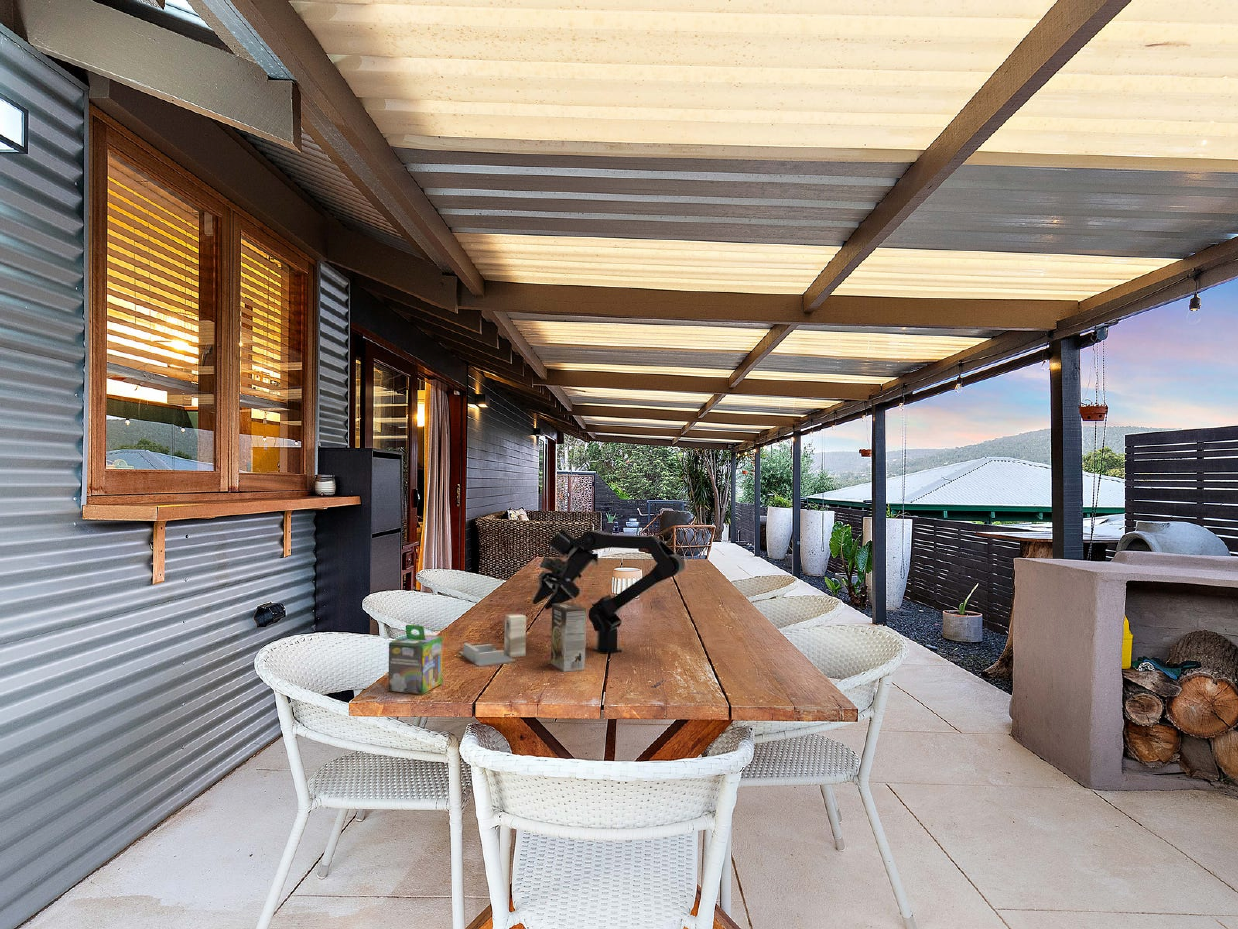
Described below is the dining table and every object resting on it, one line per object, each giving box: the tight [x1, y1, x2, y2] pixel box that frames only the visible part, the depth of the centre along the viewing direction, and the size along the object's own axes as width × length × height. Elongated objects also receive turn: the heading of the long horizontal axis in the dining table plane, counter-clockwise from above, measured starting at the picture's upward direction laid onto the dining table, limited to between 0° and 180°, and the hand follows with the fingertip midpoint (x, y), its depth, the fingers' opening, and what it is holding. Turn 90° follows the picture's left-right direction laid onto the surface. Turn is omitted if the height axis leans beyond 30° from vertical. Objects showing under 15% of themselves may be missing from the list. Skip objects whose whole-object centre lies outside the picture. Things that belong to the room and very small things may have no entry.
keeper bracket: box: [459, 642, 516, 668], centre depth 187 cm, size 16×10×4 cm, turn 31°
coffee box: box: [550, 602, 587, 673], centre depth 179 cm, size 9×6×16 cm
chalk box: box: [388, 624, 443, 696], centre depth 158 cm, size 9×9×15 cm
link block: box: [503, 613, 527, 658], centre depth 191 cm, size 4×5×11 cm
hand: (539, 606), depth 194 cm, fingers open, 9 cm apart
